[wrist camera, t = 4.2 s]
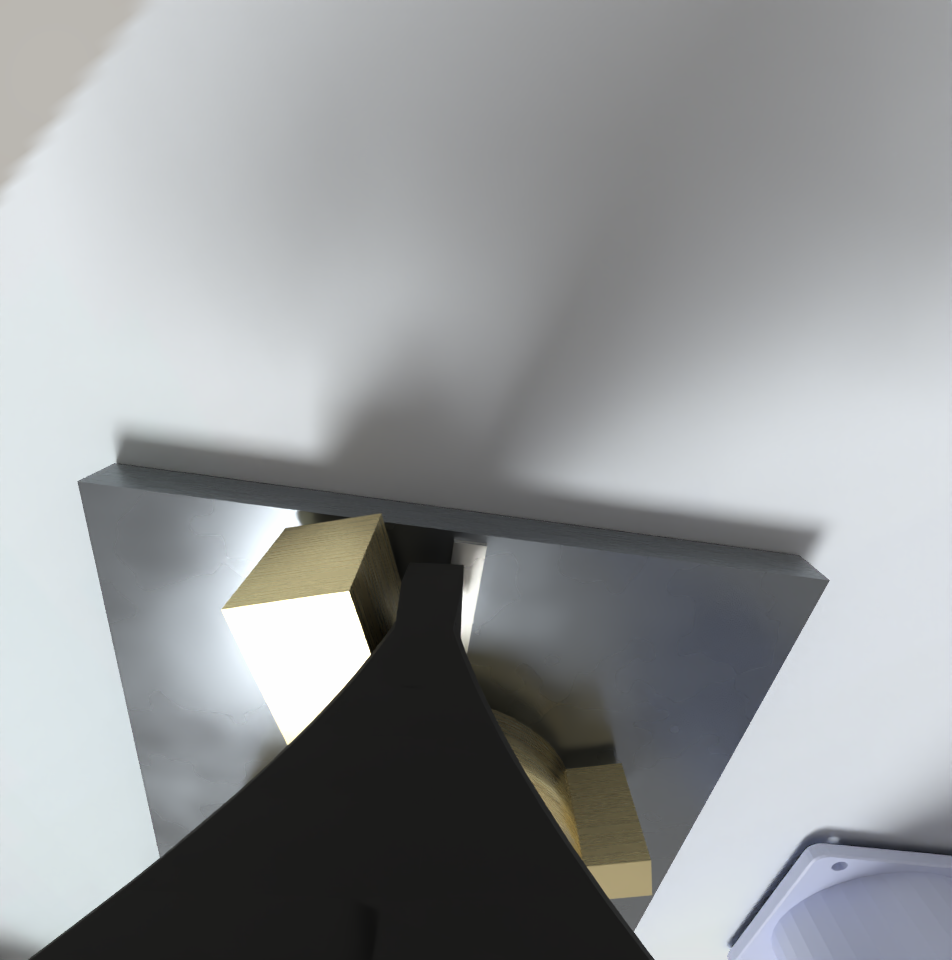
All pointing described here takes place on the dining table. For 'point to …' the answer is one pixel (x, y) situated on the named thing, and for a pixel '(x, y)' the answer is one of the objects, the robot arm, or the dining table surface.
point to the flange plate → (484, 633)
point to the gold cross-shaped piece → (350, 641)
